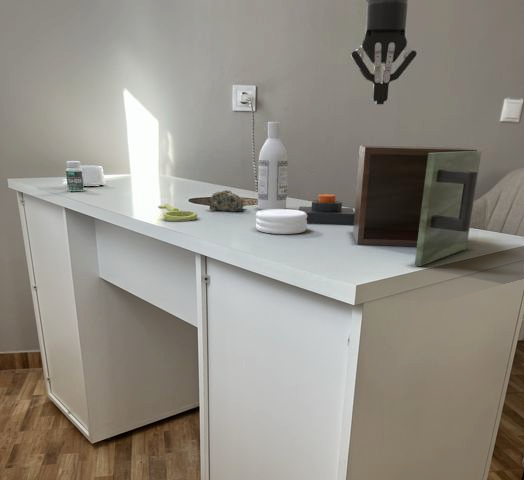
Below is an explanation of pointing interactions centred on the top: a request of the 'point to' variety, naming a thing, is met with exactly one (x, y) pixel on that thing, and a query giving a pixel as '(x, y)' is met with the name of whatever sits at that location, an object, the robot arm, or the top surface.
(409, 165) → the cupboard
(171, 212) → the key
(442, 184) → the door
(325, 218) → the switch block
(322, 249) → the top surface
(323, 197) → the button
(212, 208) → the rock
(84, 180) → the white rounded block
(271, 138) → the bath foam
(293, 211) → the white flat cylinder
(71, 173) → the pill bottle
